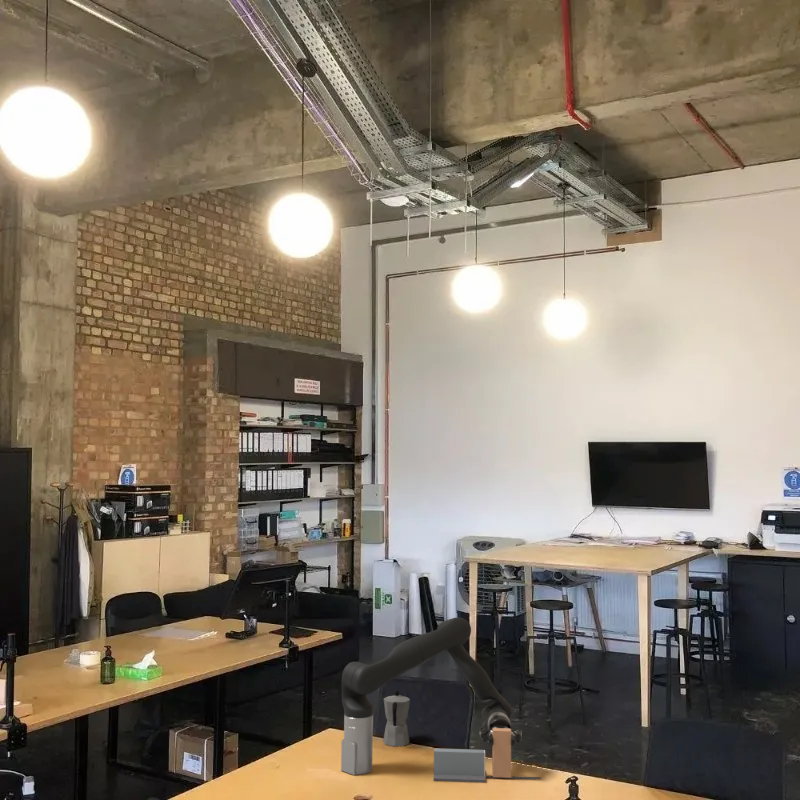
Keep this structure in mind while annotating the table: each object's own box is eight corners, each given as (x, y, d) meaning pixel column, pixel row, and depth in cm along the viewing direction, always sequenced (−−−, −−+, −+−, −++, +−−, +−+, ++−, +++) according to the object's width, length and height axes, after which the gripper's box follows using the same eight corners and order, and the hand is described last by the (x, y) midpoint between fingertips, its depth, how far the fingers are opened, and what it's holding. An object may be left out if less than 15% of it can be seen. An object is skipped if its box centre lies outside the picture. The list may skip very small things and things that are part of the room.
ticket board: (433, 781, 265) (433, 755, 265) (434, 769, 275) (434, 744, 275) (542, 784, 263) (542, 758, 263) (539, 773, 273) (539, 748, 273)
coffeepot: (385, 736, 309) (385, 685, 311) (411, 737, 308) (411, 686, 310) (380, 750, 294) (380, 696, 295) (407, 751, 293) (408, 697, 294)
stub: (492, 777, 267) (493, 730, 268) (492, 773, 270) (492, 728, 271) (511, 777, 267) (511, 731, 268) (510, 774, 270) (510, 728, 271)
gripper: (477, 714, 284) (479, 729, 268) (521, 715, 283) (525, 730, 267) (477, 737, 284) (479, 754, 267) (521, 738, 283) (525, 755, 266)
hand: (502, 742), depth 267 cm, fingers closed on stub, 5 cm apart
